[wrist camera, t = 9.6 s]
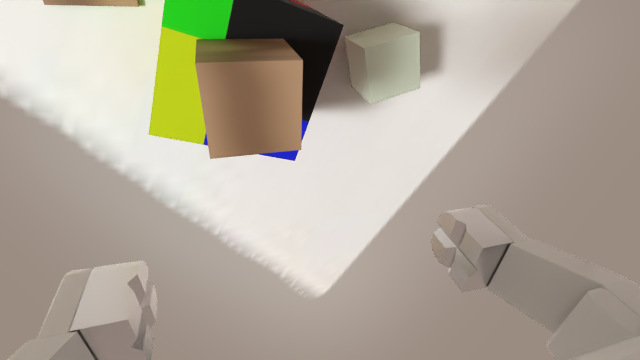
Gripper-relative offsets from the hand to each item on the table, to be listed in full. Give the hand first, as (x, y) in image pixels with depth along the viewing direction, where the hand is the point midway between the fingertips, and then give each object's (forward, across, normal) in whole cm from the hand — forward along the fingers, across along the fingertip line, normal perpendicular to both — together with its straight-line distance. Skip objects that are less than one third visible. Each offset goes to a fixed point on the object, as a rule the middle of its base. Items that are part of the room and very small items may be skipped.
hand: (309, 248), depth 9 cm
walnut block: (+15, 0, 0) cm, 15 cm away
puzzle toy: (+25, 0, 0) cm, 25 cm away
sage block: (+25, -13, +1) cm, 28 cm away
